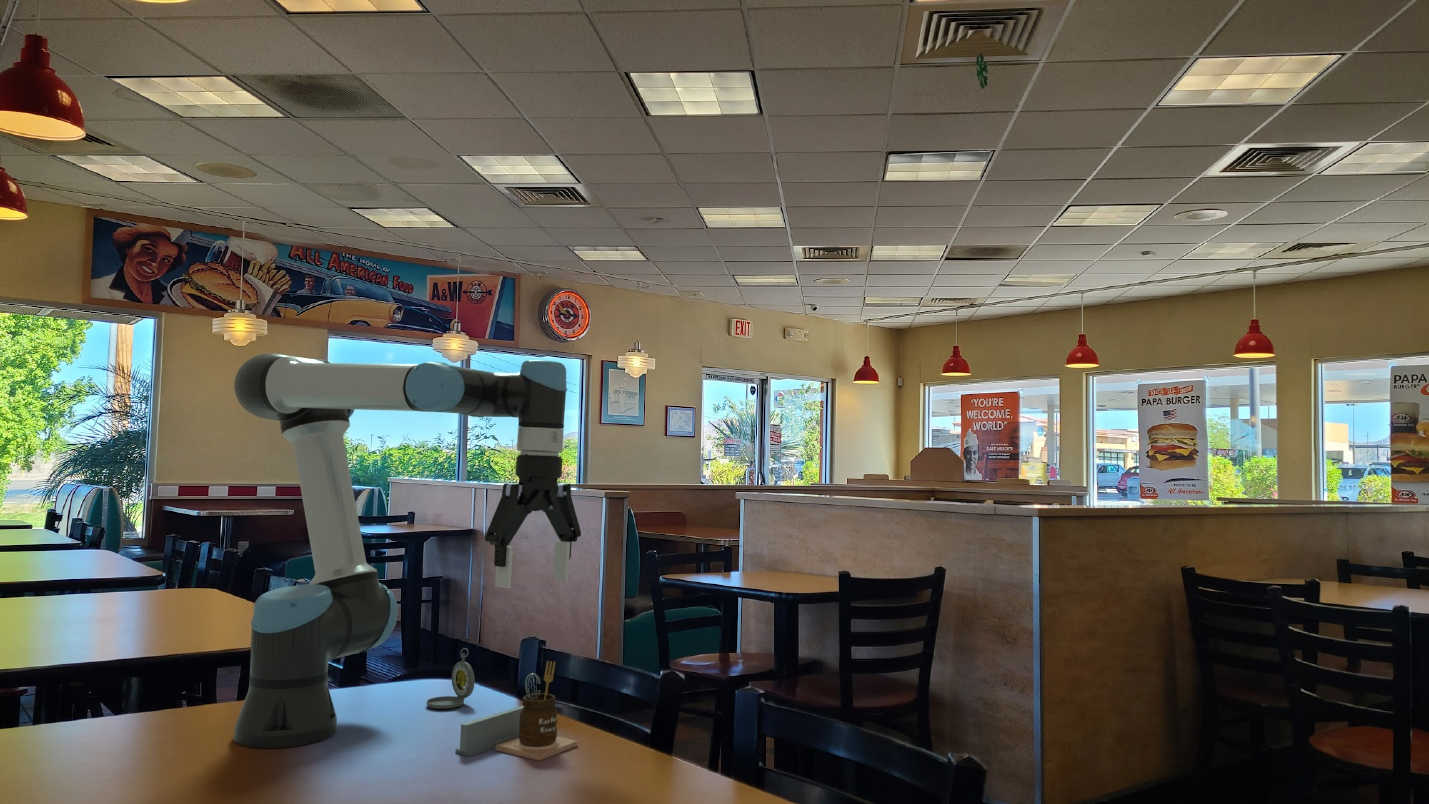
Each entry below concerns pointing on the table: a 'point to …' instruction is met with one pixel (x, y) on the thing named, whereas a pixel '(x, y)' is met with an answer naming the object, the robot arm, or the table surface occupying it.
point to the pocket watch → (456, 686)
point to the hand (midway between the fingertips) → (532, 583)
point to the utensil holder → (539, 715)
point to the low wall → (489, 731)
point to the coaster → (536, 748)
